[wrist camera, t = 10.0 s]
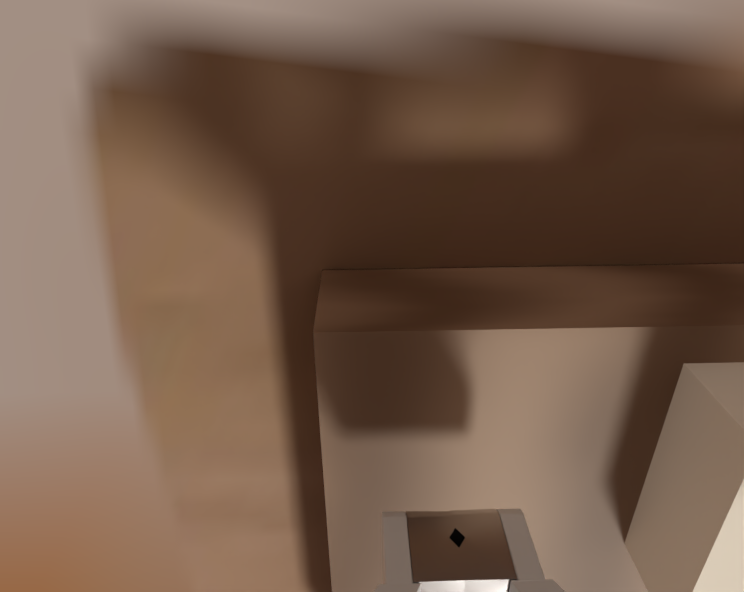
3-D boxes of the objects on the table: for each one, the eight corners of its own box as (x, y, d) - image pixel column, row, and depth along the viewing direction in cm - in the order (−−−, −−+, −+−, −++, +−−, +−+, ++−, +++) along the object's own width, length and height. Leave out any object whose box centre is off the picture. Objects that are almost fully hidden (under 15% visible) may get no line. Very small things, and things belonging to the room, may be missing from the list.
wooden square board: (934, 260, 14) (1068, 319, 11) (738, 620, 22) (791, 705, 19) (322, 270, 14) (313, 332, 11) (343, 629, 21) (341, 717, 19)
